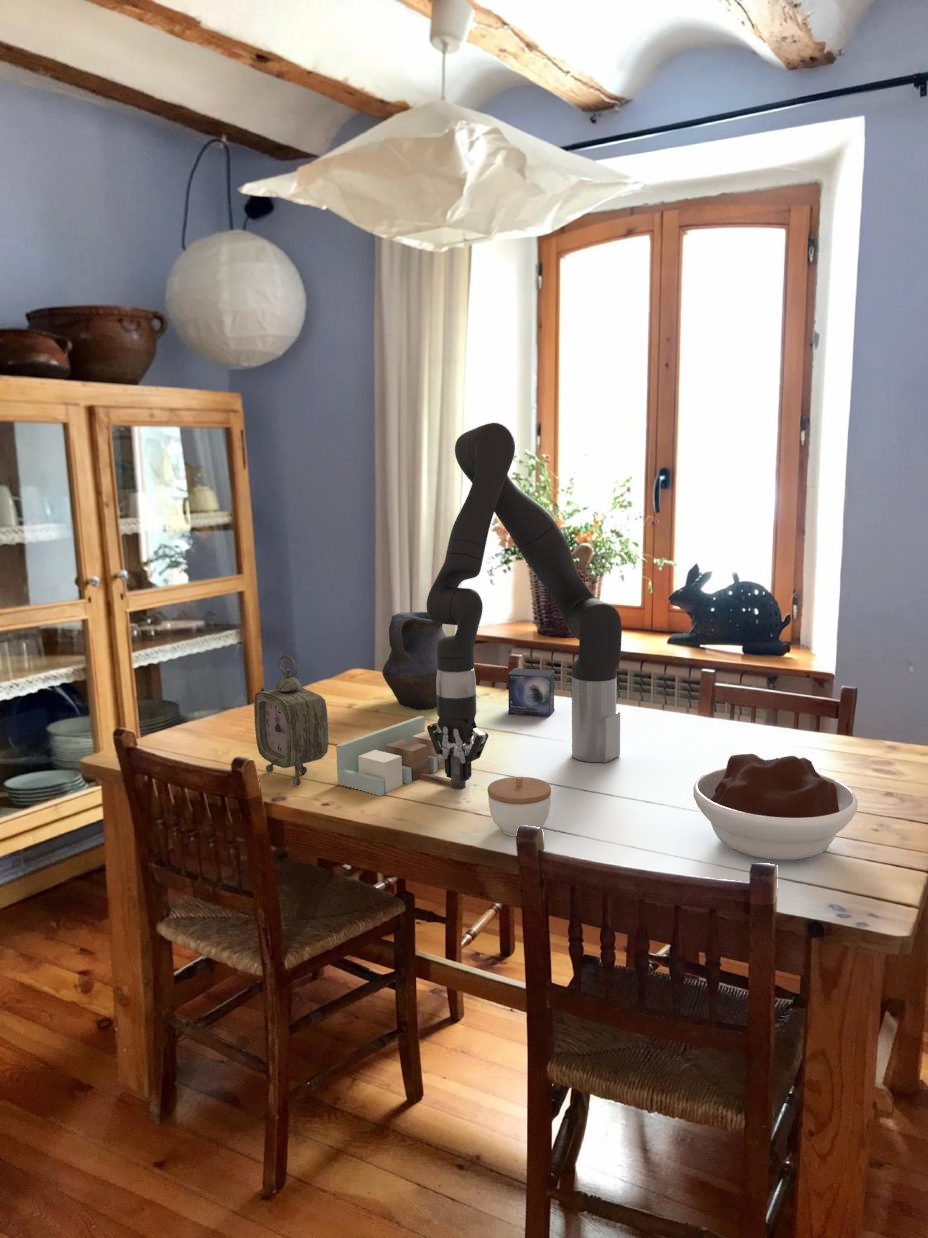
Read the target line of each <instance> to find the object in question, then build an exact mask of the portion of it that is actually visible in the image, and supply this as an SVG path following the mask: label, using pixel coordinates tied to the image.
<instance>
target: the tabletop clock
mask: <svg viewBox="0 0 928 1238" xmlns="http://www.w3.org/2000/svg"><path fill="white" fill-rule="evenodd" d="M283 659H286V660H287V659H288V660H289V661H290V662H292V664H293V667H294V672H293V673H291V672H292V671H291V668H286V669H285V670H284V668H282V664H281V662H282V660H283ZM277 661H278V663H277V665H278V668H279V671H280V672H281V673H282V674H283V675H284V676H285V677H283V678H280V679H279V680H278V681H277V683H276V685H275V688H274V689H270V690H269V689H268V690H264V691H259V692H257V693H255V695H254V705H253V706H254V707H253V709H254V713H253V714H254V728H255V737H256V738H255V739H256V745H257V749H258V753H259V755H260V756H261V757H262V758H263V759H264V760H265V761H267V762H268V763H270V764H267V765H266V766H265V771H266V772H267V773H269V772H270V773H272V772H274V771H275V770H274V769H275V768H274V766H277V767H280V768H283V769H287V768H288V769H289V768H292V767H294V772H295V773H294V775H295V776H294V777H293V779H292V781H291V782H292V785H294V786H295V785H297V786H299V785H301V782H302V781H301V778H300V777H299V775H300V774H301V773H305V774H306V773H307V772H308V767H307V766H305V765H304V764H308V763H311V762H312V763H313V762H315V761H319V760H323V758H324V757H325V756H326V755H327V753H328V749H329V721H328V709H327V703H326V699H325V698H324V697H323V696H322V695H321V694H319V693H315V692H314V691H311V690H309V689H307V688H304V687H302V684H301V682H300V681H299V680H298V678H296V677H295V676H296V674H297V672H298V666H297V665H298V664H297V662H296V660H295V659H294V658H293V657H292V656H290V655H288V654H282V655H280V656H279V658H278V660H277Z"/></svg>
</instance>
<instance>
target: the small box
mask: <svg viewBox="0 0 928 1238" xmlns="http://www.w3.org/2000/svg"><path fill="white" fill-rule="evenodd" d="M507 677H508V678H507V679H508V715H514V716H527V717H528V716H531V717H540V718H541V717H543V718H550V717H551V716H552V715H553V713H554V712H555V670H554V669H553V670H552V669H539V668H538V669H537V668H522V667H521V668H519V667H514V668H513V669H512V670H510V672H508V674H507Z"/></svg>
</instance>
